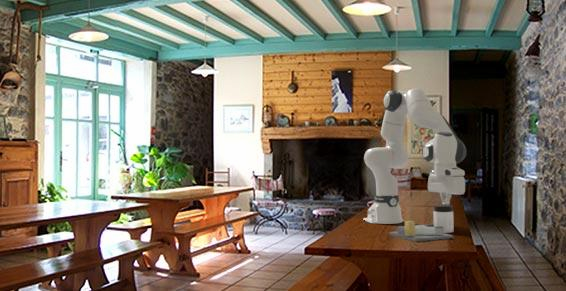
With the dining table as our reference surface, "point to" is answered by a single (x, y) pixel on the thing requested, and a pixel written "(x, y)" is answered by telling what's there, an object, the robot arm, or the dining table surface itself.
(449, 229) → the jar
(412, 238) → the slate board
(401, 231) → the tongs base
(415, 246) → the dining table surface
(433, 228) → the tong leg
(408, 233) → the lock tab
